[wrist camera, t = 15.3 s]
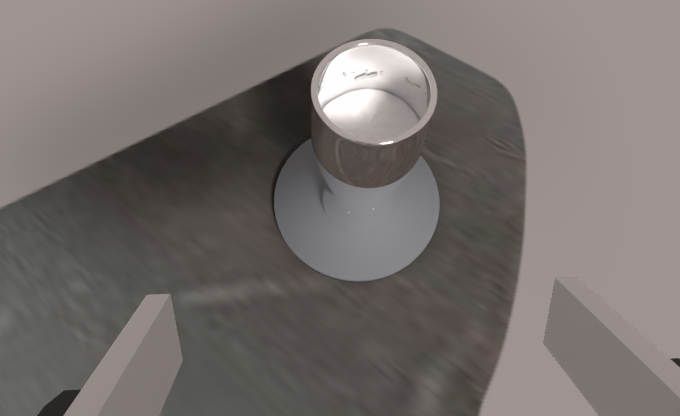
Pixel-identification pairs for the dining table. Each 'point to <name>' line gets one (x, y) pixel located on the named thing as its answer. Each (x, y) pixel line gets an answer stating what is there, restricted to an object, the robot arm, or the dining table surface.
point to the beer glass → (368, 127)
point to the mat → (346, 246)
